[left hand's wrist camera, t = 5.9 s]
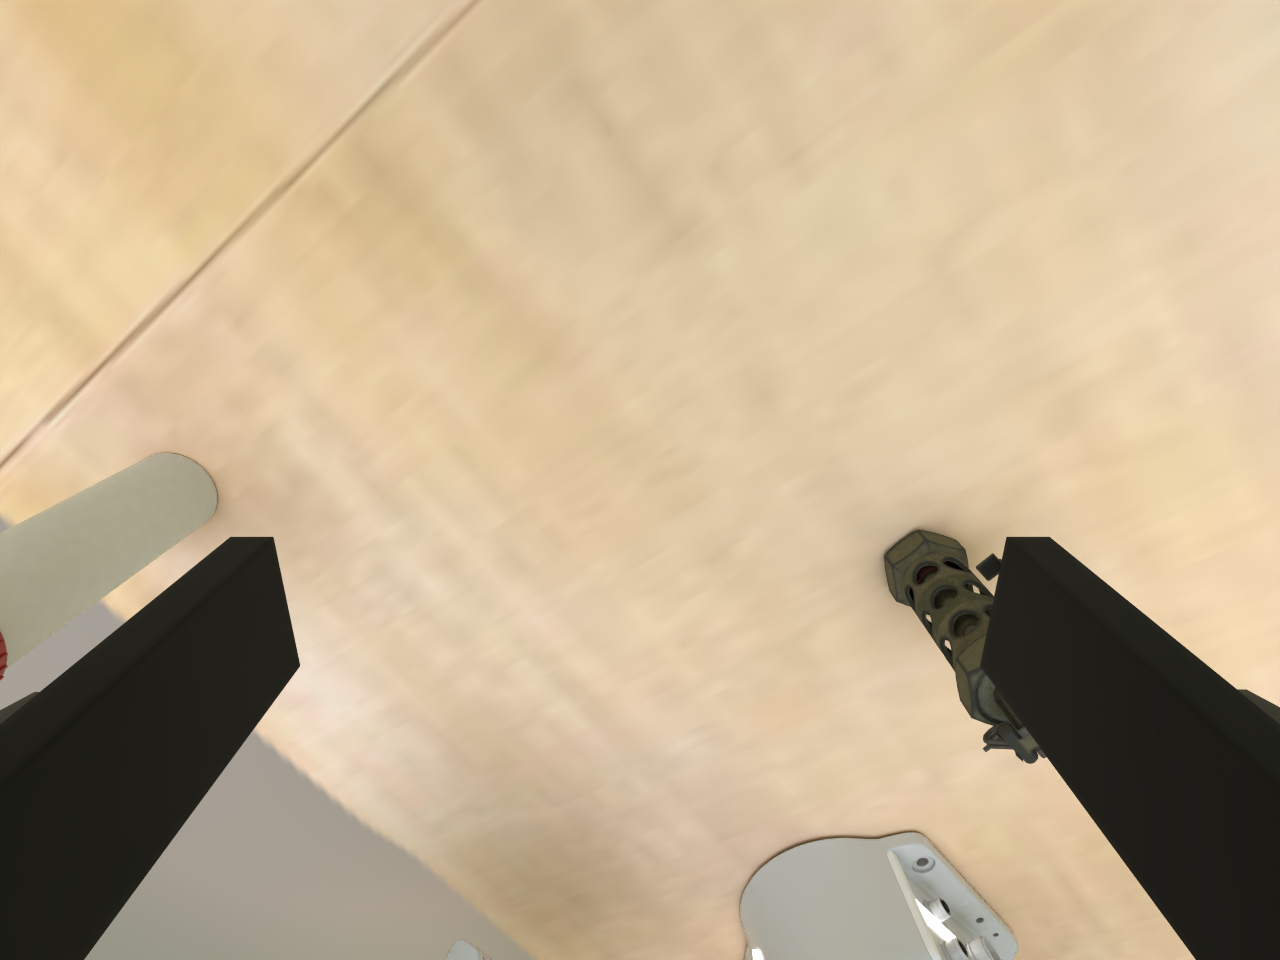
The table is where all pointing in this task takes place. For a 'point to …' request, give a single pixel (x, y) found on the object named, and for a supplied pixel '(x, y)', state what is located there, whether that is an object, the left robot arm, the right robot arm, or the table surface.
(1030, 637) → the left robot arm
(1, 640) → the lid
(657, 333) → the table surface
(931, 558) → the grenade
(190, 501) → the jar
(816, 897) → the right robot arm
